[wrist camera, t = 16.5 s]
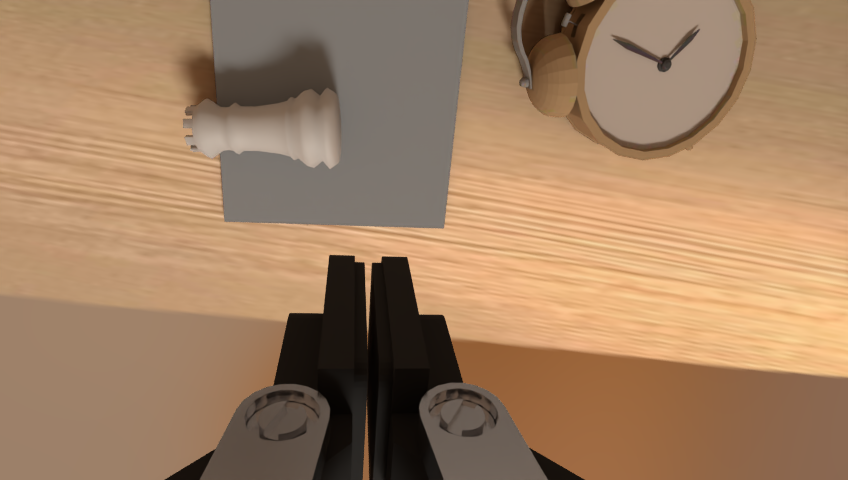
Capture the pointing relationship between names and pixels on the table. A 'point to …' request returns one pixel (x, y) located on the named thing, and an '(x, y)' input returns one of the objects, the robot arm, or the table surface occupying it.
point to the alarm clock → (641, 70)
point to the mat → (345, 106)
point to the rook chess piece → (271, 128)
